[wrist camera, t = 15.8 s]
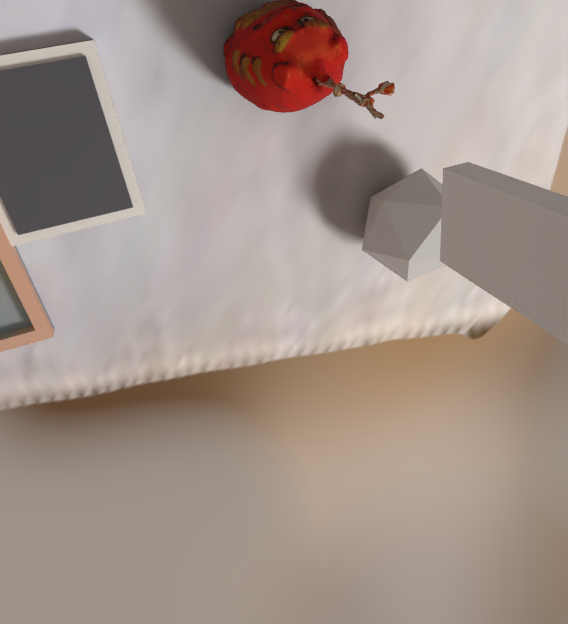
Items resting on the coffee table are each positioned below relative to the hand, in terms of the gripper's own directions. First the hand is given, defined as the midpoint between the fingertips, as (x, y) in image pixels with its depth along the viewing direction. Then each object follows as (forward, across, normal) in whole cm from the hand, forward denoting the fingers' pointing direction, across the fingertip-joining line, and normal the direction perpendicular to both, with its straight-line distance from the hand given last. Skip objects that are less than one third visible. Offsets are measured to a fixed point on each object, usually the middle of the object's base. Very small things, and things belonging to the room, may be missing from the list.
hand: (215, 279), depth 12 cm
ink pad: (+29, -6, -1) cm, 29 cm away
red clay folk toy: (+29, +11, +2) cm, 31 cm away
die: (+29, +21, -13) cm, 38 cm away
